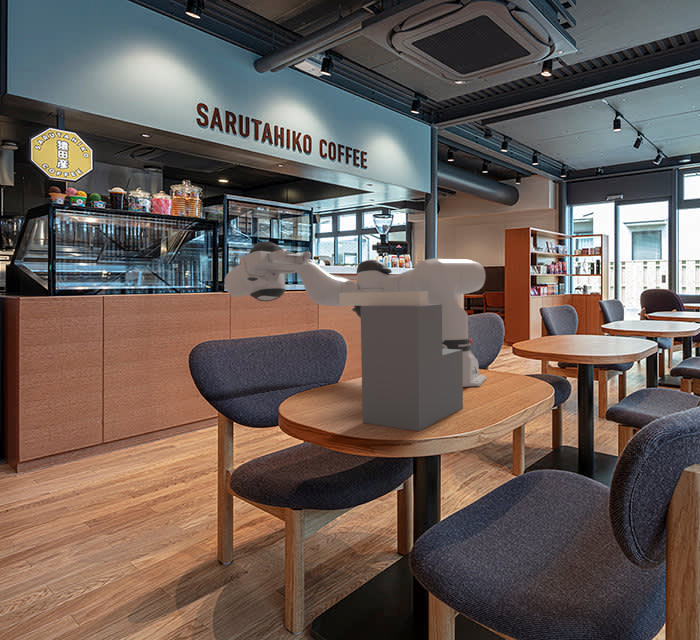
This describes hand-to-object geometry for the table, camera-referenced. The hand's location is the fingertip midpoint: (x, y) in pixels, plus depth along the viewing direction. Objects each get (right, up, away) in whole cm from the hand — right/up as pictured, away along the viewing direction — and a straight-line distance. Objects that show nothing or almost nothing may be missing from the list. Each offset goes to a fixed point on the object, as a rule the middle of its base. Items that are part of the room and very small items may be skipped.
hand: (297, 253), depth 139 cm
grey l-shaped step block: (+30, -41, -20) cm, 54 cm away
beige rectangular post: (+22, -15, -24) cm, 36 cm away
